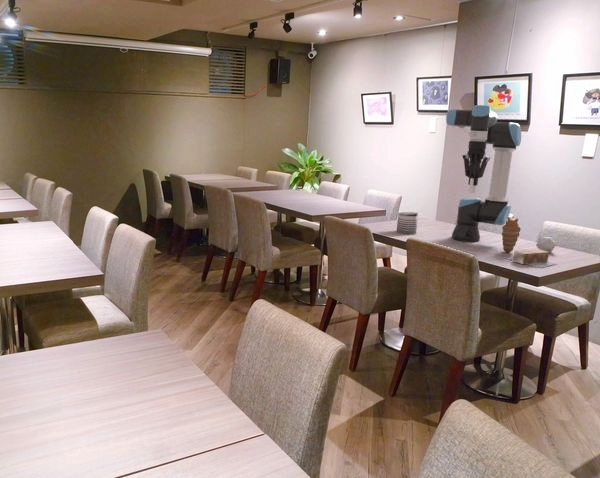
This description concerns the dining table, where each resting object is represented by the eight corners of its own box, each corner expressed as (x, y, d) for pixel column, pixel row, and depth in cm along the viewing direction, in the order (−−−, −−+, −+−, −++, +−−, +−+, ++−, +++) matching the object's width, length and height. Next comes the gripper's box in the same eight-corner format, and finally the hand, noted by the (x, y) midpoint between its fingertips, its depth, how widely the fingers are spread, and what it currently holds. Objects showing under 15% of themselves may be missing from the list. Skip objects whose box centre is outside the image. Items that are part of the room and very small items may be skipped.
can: (407, 235, 289) (409, 214, 286) (392, 231, 297) (394, 211, 295) (420, 233, 296) (422, 213, 294) (404, 230, 305) (406, 210, 302)
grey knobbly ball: (552, 256, 261) (561, 240, 262) (538, 246, 261) (547, 231, 262) (544, 257, 269) (553, 242, 270) (530, 248, 269) (539, 233, 271)
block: (524, 253, 235) (548, 252, 242) (514, 250, 240) (538, 249, 247) (522, 264, 236) (547, 262, 243) (512, 261, 242) (537, 259, 248)
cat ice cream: (519, 253, 260) (524, 218, 256) (512, 255, 255) (517, 219, 251) (502, 249, 266) (507, 215, 262) (495, 251, 261) (500, 216, 257)
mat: (505, 258, 246) (505, 258, 246) (520, 255, 255) (520, 254, 255) (541, 268, 233) (542, 267, 233) (556, 264, 241) (556, 263, 241)
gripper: (460, 139, 233) (455, 191, 239) (486, 141, 224) (479, 194, 229) (470, 139, 238) (464, 190, 244) (495, 141, 228) (489, 193, 234)
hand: (471, 192), depth 236 cm, fingers closed
